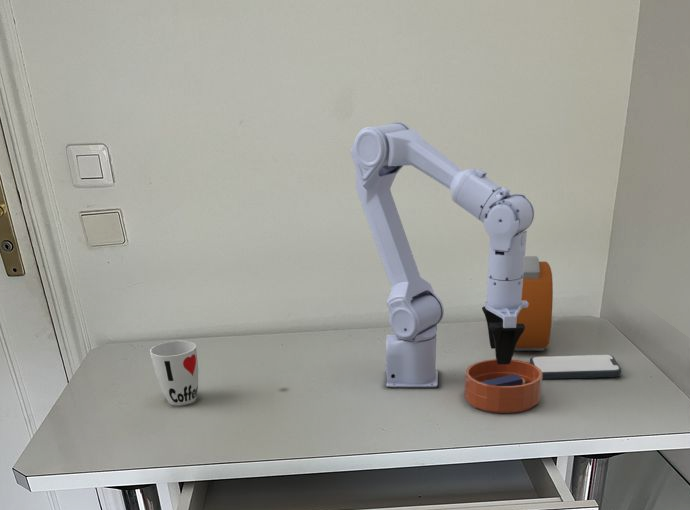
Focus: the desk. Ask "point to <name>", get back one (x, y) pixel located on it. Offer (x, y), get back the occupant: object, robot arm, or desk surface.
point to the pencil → (506, 381)
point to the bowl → (502, 396)
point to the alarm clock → (536, 305)
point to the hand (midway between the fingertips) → (500, 355)
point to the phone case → (577, 366)
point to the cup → (176, 370)
